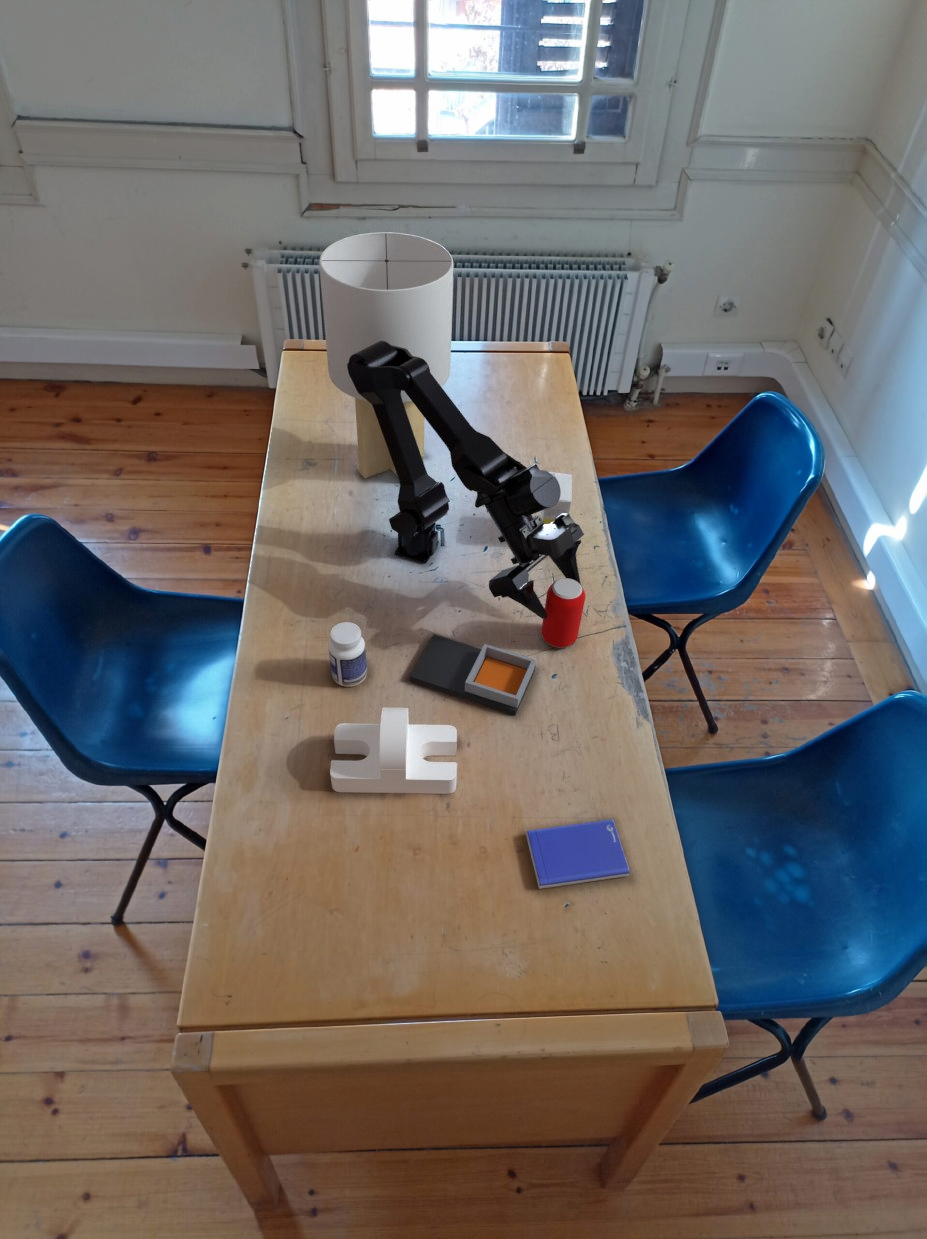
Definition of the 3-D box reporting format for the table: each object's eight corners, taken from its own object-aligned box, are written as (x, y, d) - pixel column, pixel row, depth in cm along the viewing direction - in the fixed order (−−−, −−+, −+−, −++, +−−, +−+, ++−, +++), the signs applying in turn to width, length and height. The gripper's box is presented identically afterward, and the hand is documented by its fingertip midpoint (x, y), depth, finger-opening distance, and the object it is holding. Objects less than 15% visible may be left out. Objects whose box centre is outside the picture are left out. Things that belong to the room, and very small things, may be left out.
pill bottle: (372, 666, 140) (370, 624, 133) (358, 692, 136) (355, 650, 129) (340, 657, 141) (336, 615, 134) (325, 682, 137) (320, 640, 130)
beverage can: (580, 649, 144) (591, 599, 135) (545, 653, 143) (553, 602, 134) (571, 623, 148) (581, 572, 139) (536, 626, 147) (544, 576, 139)
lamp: (469, 475, 176) (479, 270, 145) (372, 513, 166) (361, 302, 135) (410, 421, 188) (408, 222, 157) (316, 453, 179) (295, 248, 148)
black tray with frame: (409, 681, 138) (409, 667, 136) (433, 638, 145) (433, 624, 142) (515, 715, 134) (517, 702, 132) (534, 670, 140) (537, 657, 138)
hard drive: (613, 818, 120) (526, 829, 119) (630, 871, 115) (540, 884, 113) (611, 823, 121) (525, 835, 120) (628, 877, 116) (539, 889, 114)
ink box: (564, 551, 161) (572, 501, 152) (538, 549, 161) (544, 499, 153) (564, 522, 167) (572, 472, 158) (539, 519, 167) (545, 470, 158)
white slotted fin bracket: (337, 737, 130) (332, 692, 122) (456, 739, 130) (458, 695, 123) (331, 792, 123) (325, 748, 116) (456, 793, 124) (458, 751, 116)
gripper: (508, 538, 125) (560, 627, 128) (582, 481, 135) (629, 564, 138) (465, 554, 134) (515, 636, 137) (537, 499, 144) (582, 577, 148)
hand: (562, 603), depth 140 cm, fingers open, 9 cm apart
